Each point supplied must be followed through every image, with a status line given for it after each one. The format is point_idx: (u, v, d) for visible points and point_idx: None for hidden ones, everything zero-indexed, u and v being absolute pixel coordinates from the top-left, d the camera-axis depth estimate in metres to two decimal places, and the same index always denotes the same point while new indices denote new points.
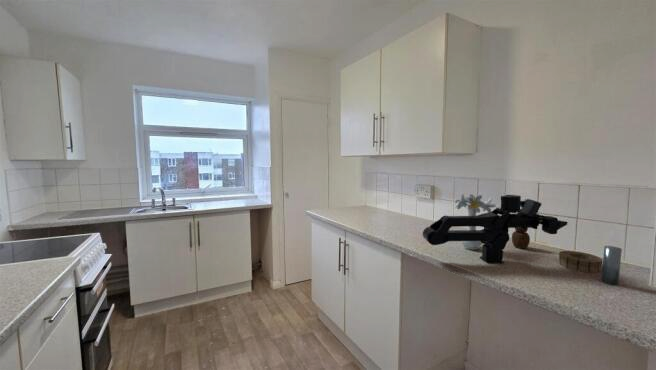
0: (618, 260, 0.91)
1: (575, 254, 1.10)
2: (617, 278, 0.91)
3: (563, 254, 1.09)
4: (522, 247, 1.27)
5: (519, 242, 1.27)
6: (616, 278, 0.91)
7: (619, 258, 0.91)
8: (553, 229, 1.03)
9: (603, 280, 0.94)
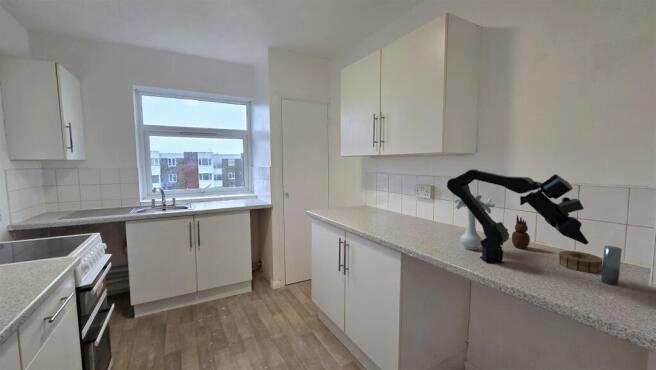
0: (618, 260, 0.91)
1: (575, 254, 1.10)
2: (617, 278, 0.91)
3: (563, 254, 1.09)
4: (522, 247, 1.27)
5: (519, 242, 1.27)
6: (616, 278, 0.91)
7: (619, 258, 0.91)
8: (566, 229, 0.90)
9: (603, 280, 0.94)
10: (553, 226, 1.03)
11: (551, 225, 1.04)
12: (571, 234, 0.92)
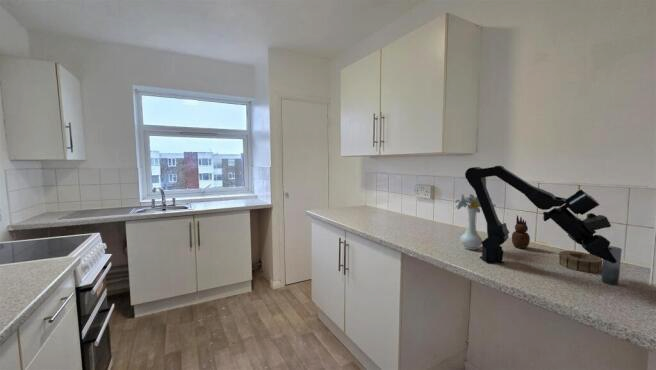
0: (618, 260, 0.91)
1: (575, 254, 1.10)
2: (617, 278, 0.91)
3: (563, 254, 1.09)
4: (522, 247, 1.27)
5: (519, 242, 1.27)
6: (616, 278, 0.91)
7: (619, 258, 0.91)
8: (593, 247, 0.87)
9: (603, 280, 0.94)
10: (577, 242, 1.00)
11: (575, 241, 1.02)
12: (598, 252, 0.89)
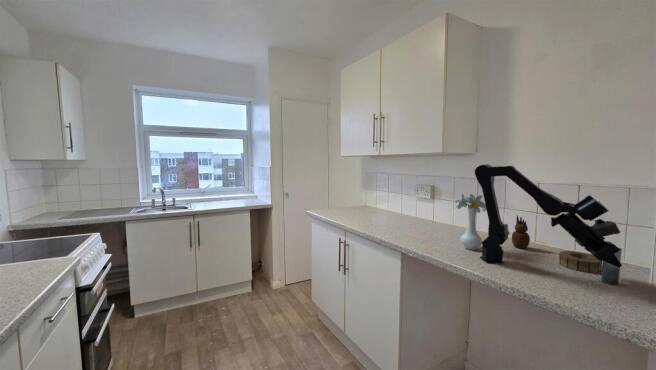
0: None
1: (575, 254, 1.10)
2: (617, 278, 0.91)
3: (563, 254, 1.09)
4: (522, 247, 1.27)
5: (519, 242, 1.27)
6: (616, 278, 0.91)
7: (619, 258, 0.91)
8: (602, 254, 0.86)
9: (603, 280, 0.94)
10: (587, 250, 0.97)
11: None
12: None
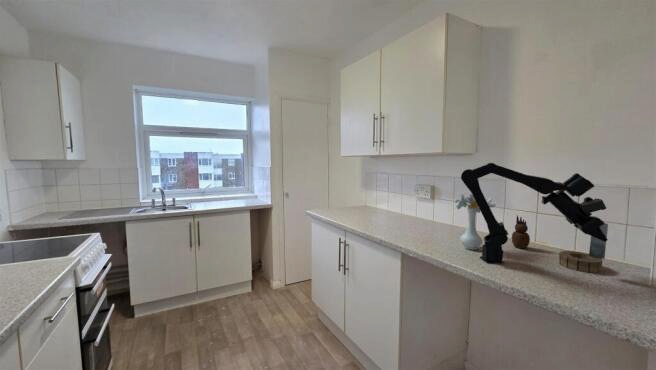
0: None
1: (575, 254, 1.10)
2: (603, 252, 0.97)
3: (563, 254, 1.09)
4: (522, 247, 1.27)
5: (519, 242, 1.27)
6: (602, 252, 0.96)
7: (605, 233, 0.96)
8: (588, 228, 0.92)
9: (590, 254, 0.99)
10: (576, 227, 1.03)
11: None
12: (591, 231, 0.96)
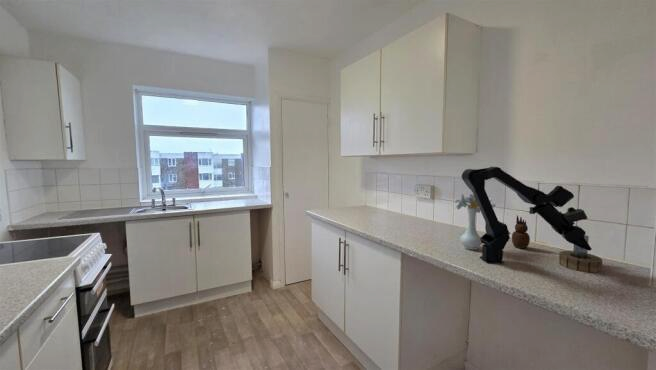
0: None
1: None
2: None
3: (563, 254, 1.09)
4: (522, 247, 1.27)
5: (519, 242, 1.27)
6: None
7: None
8: (571, 236, 1.00)
9: None
10: (559, 233, 1.13)
11: (557, 232, 1.15)
12: (576, 241, 1.02)
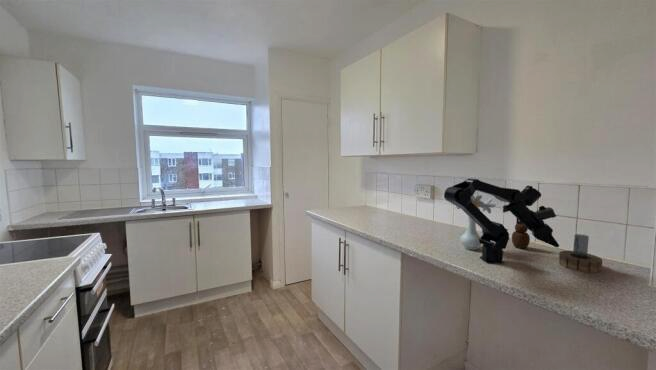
0: (585, 246, 1.05)
1: None
2: None
3: (563, 254, 1.09)
4: (522, 247, 1.27)
5: (519, 242, 1.27)
6: None
7: (586, 244, 1.05)
8: (539, 234, 1.04)
9: None
10: (531, 231, 1.17)
11: (530, 230, 1.19)
12: (544, 238, 1.06)
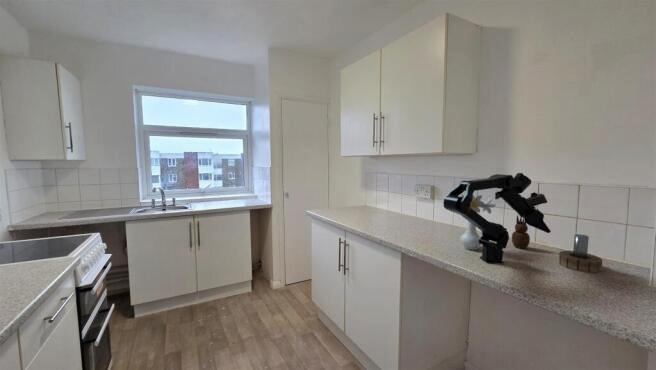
0: (585, 246, 1.05)
1: None
2: None
3: (563, 254, 1.09)
4: (522, 247, 1.27)
5: (519, 242, 1.27)
6: None
7: (586, 244, 1.05)
8: (530, 219, 1.04)
9: None
10: None
11: (522, 217, 1.18)
12: (536, 224, 1.06)
